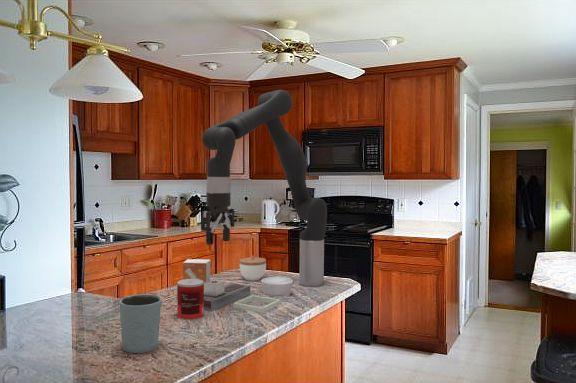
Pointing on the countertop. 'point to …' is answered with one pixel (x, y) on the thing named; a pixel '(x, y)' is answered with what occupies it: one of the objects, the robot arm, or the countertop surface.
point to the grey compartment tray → (226, 296)
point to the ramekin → (277, 285)
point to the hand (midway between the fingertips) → (218, 242)
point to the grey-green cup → (140, 322)
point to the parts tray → (242, 305)
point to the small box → (196, 269)
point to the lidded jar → (252, 268)
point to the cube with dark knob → (214, 288)
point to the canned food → (190, 298)
